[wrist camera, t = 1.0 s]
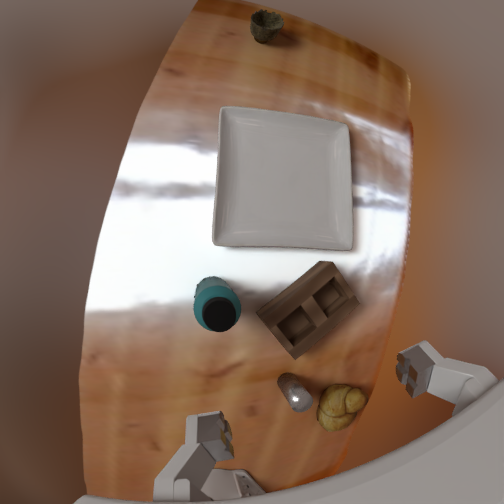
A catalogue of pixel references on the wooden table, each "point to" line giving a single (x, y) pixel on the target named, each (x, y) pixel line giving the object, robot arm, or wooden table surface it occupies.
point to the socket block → (309, 308)
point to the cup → (265, 25)
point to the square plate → (282, 181)
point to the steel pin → (294, 392)
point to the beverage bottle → (216, 305)
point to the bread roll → (340, 406)
